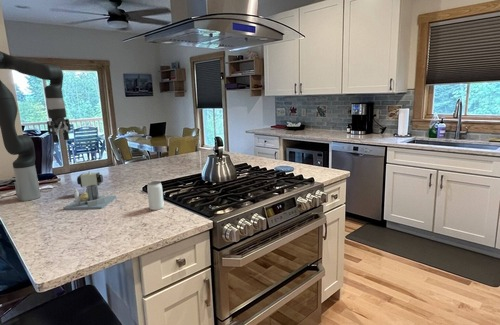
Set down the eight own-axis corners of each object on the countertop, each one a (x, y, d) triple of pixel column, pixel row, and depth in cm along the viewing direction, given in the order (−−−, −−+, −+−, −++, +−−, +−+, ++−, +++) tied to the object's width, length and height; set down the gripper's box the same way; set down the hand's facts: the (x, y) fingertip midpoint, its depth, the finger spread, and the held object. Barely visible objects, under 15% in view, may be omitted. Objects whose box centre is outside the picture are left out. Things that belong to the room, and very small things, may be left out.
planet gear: (81, 204, 149) (79, 188, 148) (90, 199, 157) (87, 184, 155) (98, 204, 149) (95, 188, 148) (105, 199, 157) (103, 183, 155)
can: (150, 211, 141) (148, 185, 138) (148, 207, 146) (145, 182, 144) (165, 208, 143) (162, 183, 141) (162, 204, 149) (159, 180, 147)
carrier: (63, 209, 146) (60, 192, 145) (81, 198, 162) (79, 182, 160) (101, 208, 146) (99, 191, 144) (116, 197, 162) (114, 181, 160)
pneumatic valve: (102, 193, 170) (99, 172, 167) (79, 195, 167) (75, 173, 165) (105, 190, 175) (102, 169, 172) (82, 192, 173) (79, 171, 170)
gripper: (57, 107, 159) (62, 139, 162) (38, 108, 145) (44, 143, 148) (72, 107, 158) (77, 139, 162) (54, 108, 145) (60, 143, 148)
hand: (61, 141), depth 155 cm, fingers open, 8 cm apart
